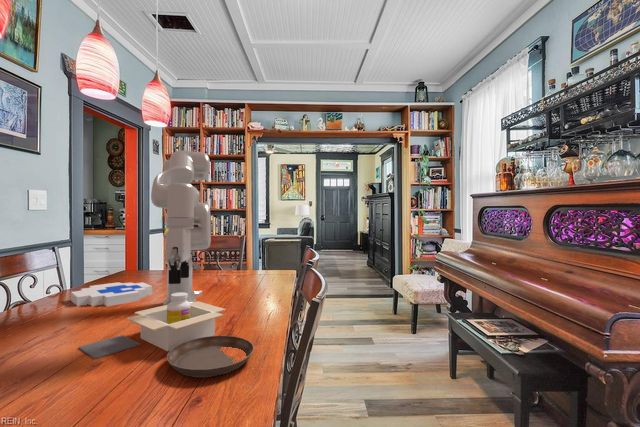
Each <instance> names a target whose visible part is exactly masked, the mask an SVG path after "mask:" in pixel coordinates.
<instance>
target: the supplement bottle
mask: <svg viewBox="0 0 640 427" xmlns="http://www.w3.org/2000/svg"><path fill="white" fill-rule="evenodd" d="M187 297H188V294H187V293H184V292H180V293H173V294H171V302H170V303H169V304H168V305H167V324H172V323H176V322H179V321H183V320H186V319H190V316H191V304H190V302H188V301H187Z"/></svg>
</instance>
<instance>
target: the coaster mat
mask: <svg viewBox="0 0 640 427" xmlns="http://www.w3.org/2000/svg"><path fill="white" fill-rule="evenodd" d="M139 346H141V343H139V342H138V341H135V340H133V339H131V338H130V337H127V336H126V335H124V334H120V335H117V336H113V337H110V338H106V339H103V340H99V341H94V342H91V343H87V344H84V345H80V346H78V349H79V350H80V351H81V352H84V353H85V354H87V355H88V356H90V357H91V358H92V359H94V360H96V359H100V358H105V357H106V356H110V355H113V354H116V353H120V352H123V351H126V350H129V349H132V348H136V347H139Z"/></svg>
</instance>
